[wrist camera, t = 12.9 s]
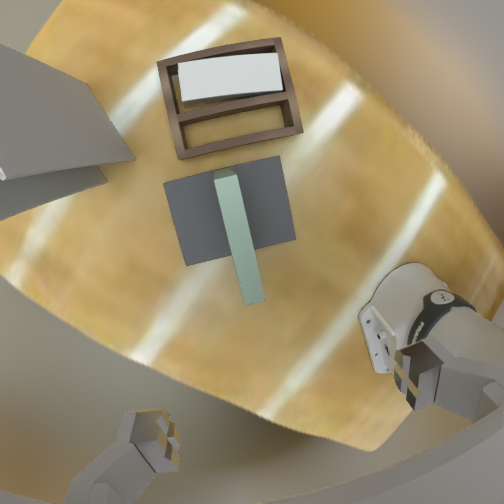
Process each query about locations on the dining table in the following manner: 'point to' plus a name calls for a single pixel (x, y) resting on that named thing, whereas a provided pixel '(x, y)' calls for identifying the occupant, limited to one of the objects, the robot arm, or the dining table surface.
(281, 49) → the rack
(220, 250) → the mat
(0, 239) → the dining table surface
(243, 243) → the block
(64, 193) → the brochure
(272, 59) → the offcut upper
